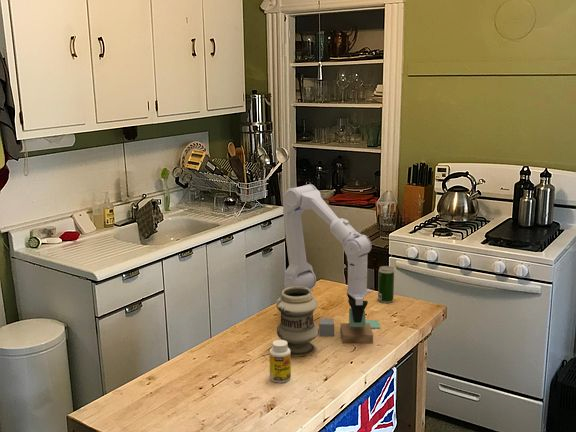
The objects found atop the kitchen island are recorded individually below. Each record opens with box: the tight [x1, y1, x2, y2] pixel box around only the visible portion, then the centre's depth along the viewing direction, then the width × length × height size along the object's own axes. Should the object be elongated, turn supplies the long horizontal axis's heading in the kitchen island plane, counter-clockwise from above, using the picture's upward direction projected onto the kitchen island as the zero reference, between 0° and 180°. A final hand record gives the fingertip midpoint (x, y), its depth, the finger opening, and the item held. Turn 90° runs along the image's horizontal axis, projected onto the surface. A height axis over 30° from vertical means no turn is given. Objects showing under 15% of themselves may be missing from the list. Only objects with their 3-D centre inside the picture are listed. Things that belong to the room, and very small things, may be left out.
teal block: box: [348, 307, 366, 327], centre depth 188 cm, size 4×4×4 cm
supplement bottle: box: [269, 339, 292, 383], centre depth 163 cm, size 6×6×10 cm
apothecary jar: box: [275, 286, 319, 357], centre depth 180 cm, size 12×12×18 cm
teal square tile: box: [365, 319, 381, 330], centre depth 198 cm, size 6×6×1 cm
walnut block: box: [340, 322, 374, 345], centre depth 189 cm, size 9×9×3 cm
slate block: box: [318, 317, 335, 337], centre depth 192 cm, size 4×4×4 cm
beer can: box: [377, 265, 395, 304], centre depth 217 cm, size 5×5×12 cm
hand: (356, 318), depth 188 cm, fingers closed on teal block, 4 cm apart
